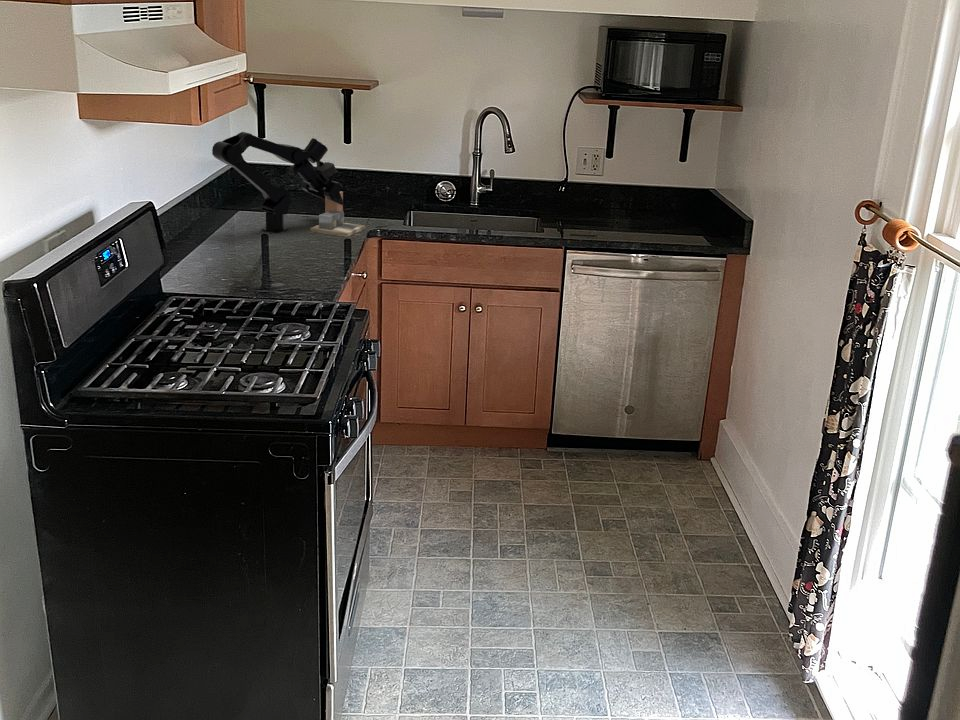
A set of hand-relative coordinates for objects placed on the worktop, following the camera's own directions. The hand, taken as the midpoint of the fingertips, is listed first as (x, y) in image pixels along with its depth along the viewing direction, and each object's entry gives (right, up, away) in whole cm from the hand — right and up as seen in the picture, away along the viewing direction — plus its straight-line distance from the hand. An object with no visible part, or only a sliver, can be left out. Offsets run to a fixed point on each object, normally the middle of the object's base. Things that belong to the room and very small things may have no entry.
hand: (335, 201), depth 333 cm
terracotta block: (-1, -7, +2) cm, 8 cm away
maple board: (+2, -11, -9) cm, 15 cm away
